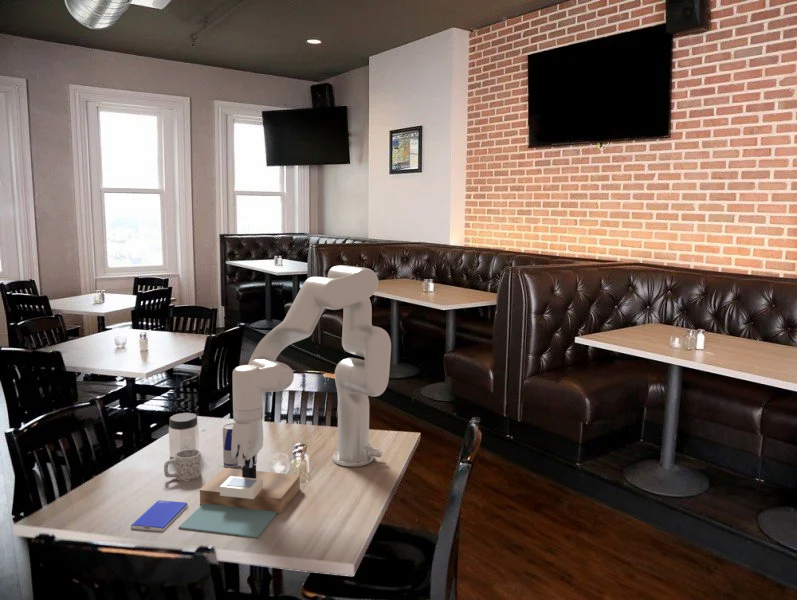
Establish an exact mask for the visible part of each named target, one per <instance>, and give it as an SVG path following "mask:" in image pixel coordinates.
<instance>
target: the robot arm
mask: <svg viewBox="0 0 797 600" xmlns="http://www.w3.org/2000/svg"><path fill="white" fill-rule="evenodd" d="M378 288H379V277H378V275H377V273H376V272H375V271H374V270H372V269H370V268H367V267H361V266H354V265H353V266H352V265H346V264H345V265H341V264H339V265H335V266H332V267H331V268H330V269H329V270H328V272H327V277H326V276H325V277H324V276H310V277H309V278H307V279H306V280H305V281H304V282H303V283H302V286H301V287H300V289H299V291H298V293H297V294H296V297H295V298H294V300H293V302H292V305H291V306H290V308H289V309H288V311H287V313H286V316H285V317H284V319H283V321H281V322H280V323H279V324H278V325H276V326H275V327H273V328H272V330H270V331H269V332H267V334H266V335H264V337H263V338H261V340H260V341H259V342H258V344H257V346H256V347H255V349H254V351H253V352H252V354H251V356H250V359H249V360H248V364H242V365H239V366H236V367H234V369H233V370H232V411H233V412H232V417H233V418H232V420H233V423H234V424H233V430H232V446H231V457H232V459H235V458H237V457H238V467H241V469H242V477H245V478H255V479H256V471H257V462H258V453H259V452H260V451H261V450H262V449H263V447H264V446H263V445H264V426H263V419H264V393H270V392H271V393H272V392H274V393H275V392H281V391H284V390H287V389H288V388H289V387H291V385H292V384H293V381H294V379H295V375H294V371H293V369H292V368H291V367H290V366H289V365H288V364H286V363H284V362H280V361H278V360H277V358H278V356H279V355H280V354H281V352H282V351H283V350H285V348H287V347H288V346H290V345H292V344H293V343H294V344H295V343H297V342H300V341H302V340H305V339H307V338H309V337H310V336H312V335H313V332H314V330H315V328H316V327H317V325H318V322H319V320H320V319H321V316H322V314H323V313H324V311H325V309H327V310H332V311H334V310H335V311H336V310H342V309H343V317H342V333H341V334H342V335H341V346H342V347H343V350H344V351H345V352H347V353H349V354H352V355H355V356H358V357H362V358H364V359H361V358H356V357H355V358H354V357H347V358H343V359H342V360H340V361H339V362H338V363H337V364H336V367H335V369H334V381H335V382H334V383H335V386H336V392H337V394H336V395H337V451H334V453H333V454H332V460H333V462H334V463H335V464H337V465H340V466H343V467H347V468H348V467H349V468H354V467H356V468H357V467H362V466H363V467H364V466H366V465H369V464H371V463H372V462H373V461H374V457H375V458H383V450H381V449H380V448H378V447H377V448H375V447H373V446H372V442H370V400H369V397H380V396H381V395H382V394H384V393H385V391H386V389H387V387H388V384H389V378H390V370H391V369H390V368H391V367H390V366H391V354H392V342H391V341H392V340H391V338H390V335H389V333H388V332H387V330H385V329H383V328H382V327H379V326H375V325H373V324H372V321H373V320H372V319H373V318H372V315H373V314H372V313H373V312H372V311H373V310H372V307H373V306H372V303H371V299H370V297H372V296H373V295H374V294H375V293H376V291H377V289H378Z"/></svg>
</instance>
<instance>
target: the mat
mask: <svg viewBox="0 0 797 600" xmlns="http://www.w3.org/2000/svg"><path fill="white" fill-rule="evenodd" d="M277 514H278V513H277V512H275V511H266V510H257V509H248V508H239V507H230V506H221V505H212V504H203V505H200V506H199V507H198V508H196V509H195V511H194V512H193V513H192V514H190V516H188V517H187V519H186V520H184V521H183V522H182V523H181V524H180V525H179V526H178V529H180V530H187V531H196V532H205V533H211V534H219V535H220V534H221V535H228V534H229V535H228V536H236V535H238V536H237V537H246V538H255V539H258V538H259V537H260V536H261V535H262V533H263V531H264V530H265V529H266V528H267V527H268V526H269V524H271V522H272V521H273V520H274V518H275V516H277Z"/></svg>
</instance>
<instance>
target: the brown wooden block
mask: <svg viewBox="0 0 797 600" xmlns="http://www.w3.org/2000/svg"><path fill="white" fill-rule="evenodd" d="M230 476H235V477H242V468H227V467H224V468H223V469H222V470H221V471H220V472H218V473H217V474H216V475H215V476H214V477H213V478H211V479H210V480H209V481H208V482H207V483H205V484H204V486H202V487H201V488H200V489H199V505H200V504H201V505H200V506H202V505H203V504H212V505H221V506H230V507H239V508H248V509H257V510H266V511H275V512H277V514H278V515H279V514H282V513H283V512H284V510H285V509H286V508H287V506H288V505H289V504H290V502H292V501H293V499H294V498H295V497H296V495H297V493H298V492H299V491H300V489H301V477H300V476H301V475H300V474H290V473H281V472H272V471H271V472H270V471H259V470H256V479H263V489H262V490H261V491H260V492H259V493H258V494H257V496H256V497H255V498H254V499H248V498H238V497H229V496H220V486H221V485H222V484H223V483H224V482H225V481H226V480H227V479H228V478H229V477H230Z"/></svg>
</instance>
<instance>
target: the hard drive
mask: <svg viewBox="0 0 797 600" xmlns="http://www.w3.org/2000/svg"><path fill="white" fill-rule="evenodd" d="M187 507H188V503H187V502H185V501H173V500H161V499H160V500H156V501H155V503H153V505H151V506H150V507H149V508H147V510H146V511H145V512H143V513H142V514H141V515H140V516H139V517H138V518H137V519H136V520H135V521H134V522H133V523H132V524H131V525H130V529H133V530H147V531H158V532H164V531H165V530H166V529H167V528H168V527H169V526H170V525H171V524H172V523H173V522H174V520H176V519H177V518H178V517H179V516H180V515H181V514H182V513H183V512H184V511H185V509H187Z"/></svg>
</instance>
